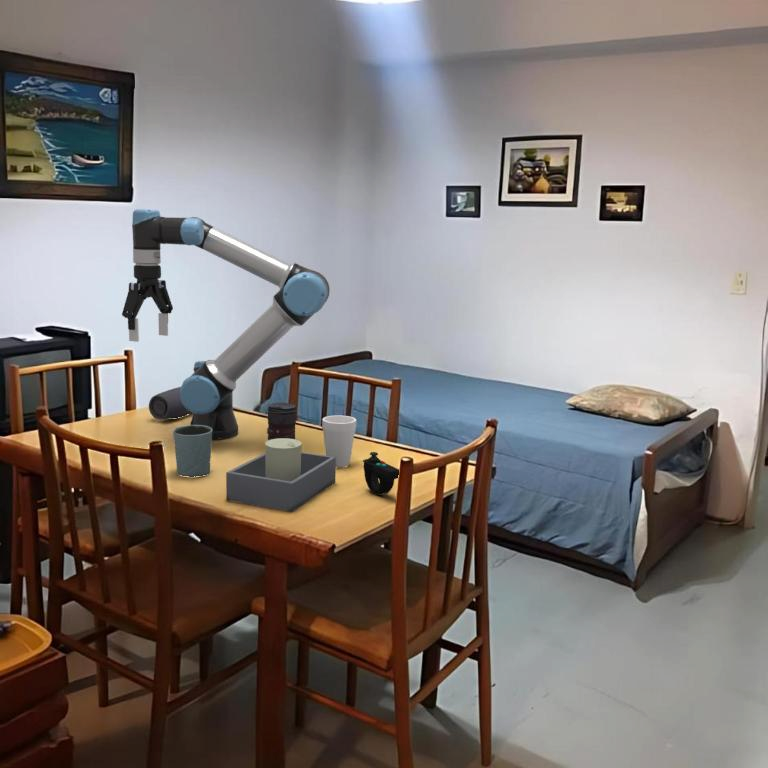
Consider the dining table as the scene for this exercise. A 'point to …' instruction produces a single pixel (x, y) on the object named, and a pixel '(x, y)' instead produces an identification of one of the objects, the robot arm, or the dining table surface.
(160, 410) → the bluetooth speaker
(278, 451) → the can
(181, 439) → the blue-grey textured cup
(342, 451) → the foam cup
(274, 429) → the camera lens
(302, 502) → the box
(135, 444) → the dining table surface
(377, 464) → the controller
